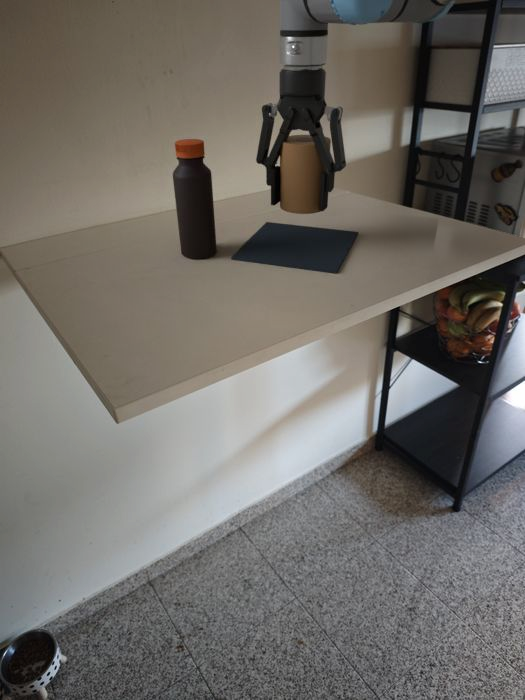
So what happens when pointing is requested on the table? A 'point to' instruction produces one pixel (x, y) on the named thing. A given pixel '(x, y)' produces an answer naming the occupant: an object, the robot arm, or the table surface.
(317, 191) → the paper roll
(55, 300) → the table surface
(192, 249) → the bottle
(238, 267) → the table surface
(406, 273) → the table surface
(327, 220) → the table surface
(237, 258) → the slate mat
